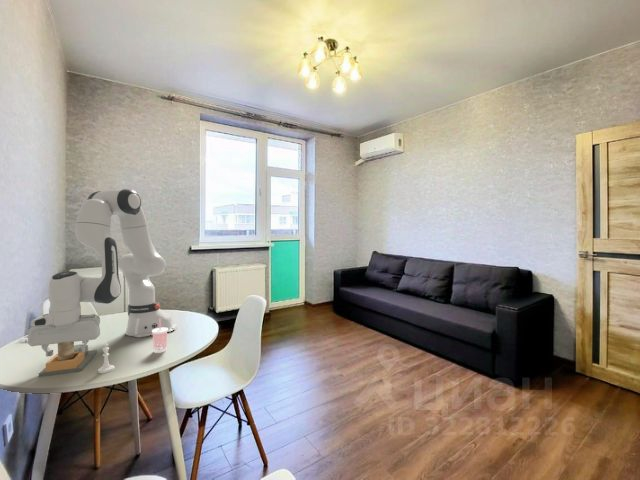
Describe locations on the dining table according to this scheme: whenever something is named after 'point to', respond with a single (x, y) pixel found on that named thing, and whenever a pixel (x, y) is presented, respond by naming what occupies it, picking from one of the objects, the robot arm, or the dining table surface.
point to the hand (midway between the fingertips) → (66, 353)
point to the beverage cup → (160, 338)
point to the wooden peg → (65, 351)
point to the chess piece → (106, 361)
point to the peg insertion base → (68, 362)
